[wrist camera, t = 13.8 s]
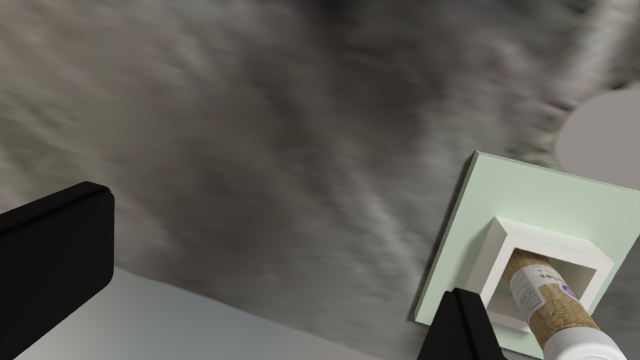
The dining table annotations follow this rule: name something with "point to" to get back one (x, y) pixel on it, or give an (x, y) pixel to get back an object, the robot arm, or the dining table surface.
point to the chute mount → (529, 239)
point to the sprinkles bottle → (555, 311)
